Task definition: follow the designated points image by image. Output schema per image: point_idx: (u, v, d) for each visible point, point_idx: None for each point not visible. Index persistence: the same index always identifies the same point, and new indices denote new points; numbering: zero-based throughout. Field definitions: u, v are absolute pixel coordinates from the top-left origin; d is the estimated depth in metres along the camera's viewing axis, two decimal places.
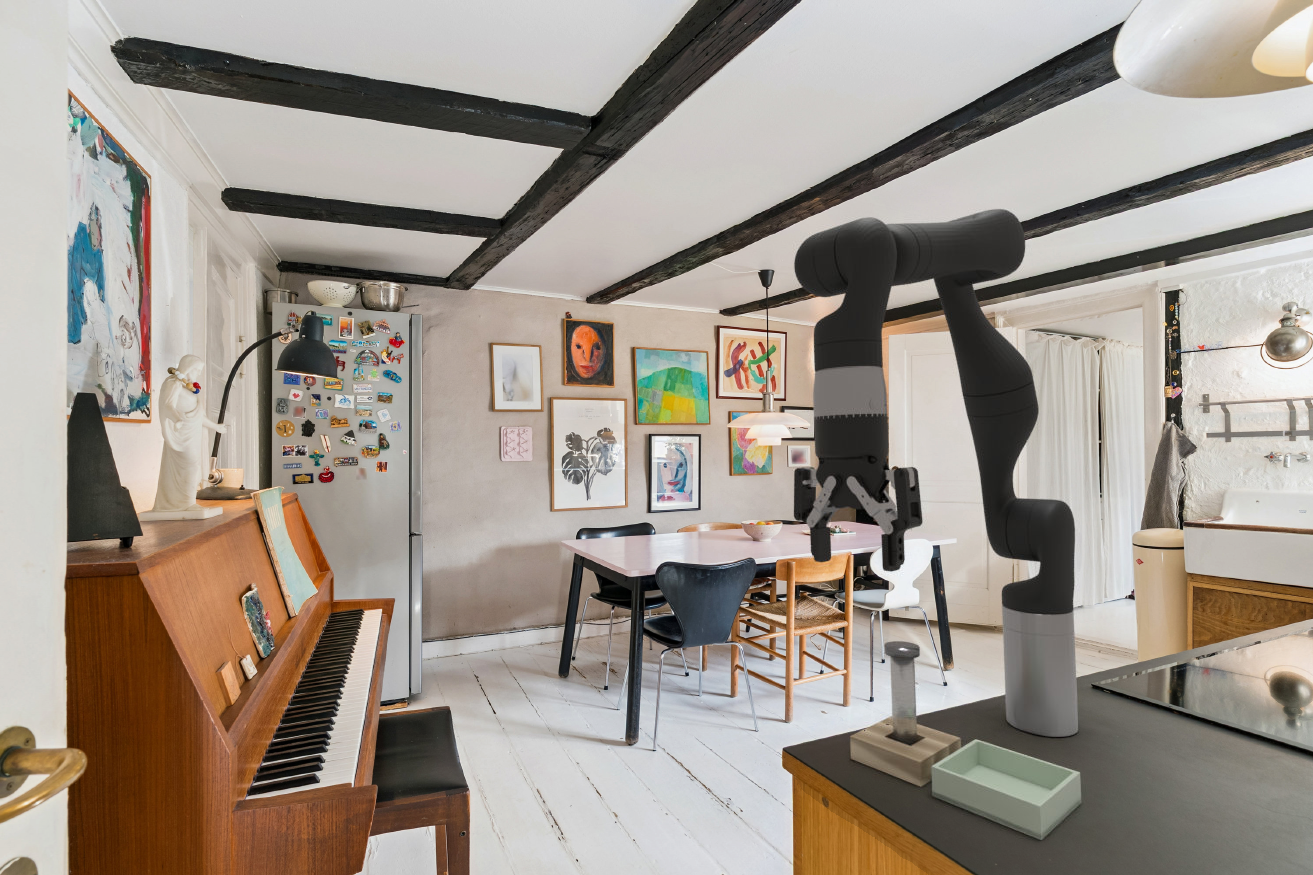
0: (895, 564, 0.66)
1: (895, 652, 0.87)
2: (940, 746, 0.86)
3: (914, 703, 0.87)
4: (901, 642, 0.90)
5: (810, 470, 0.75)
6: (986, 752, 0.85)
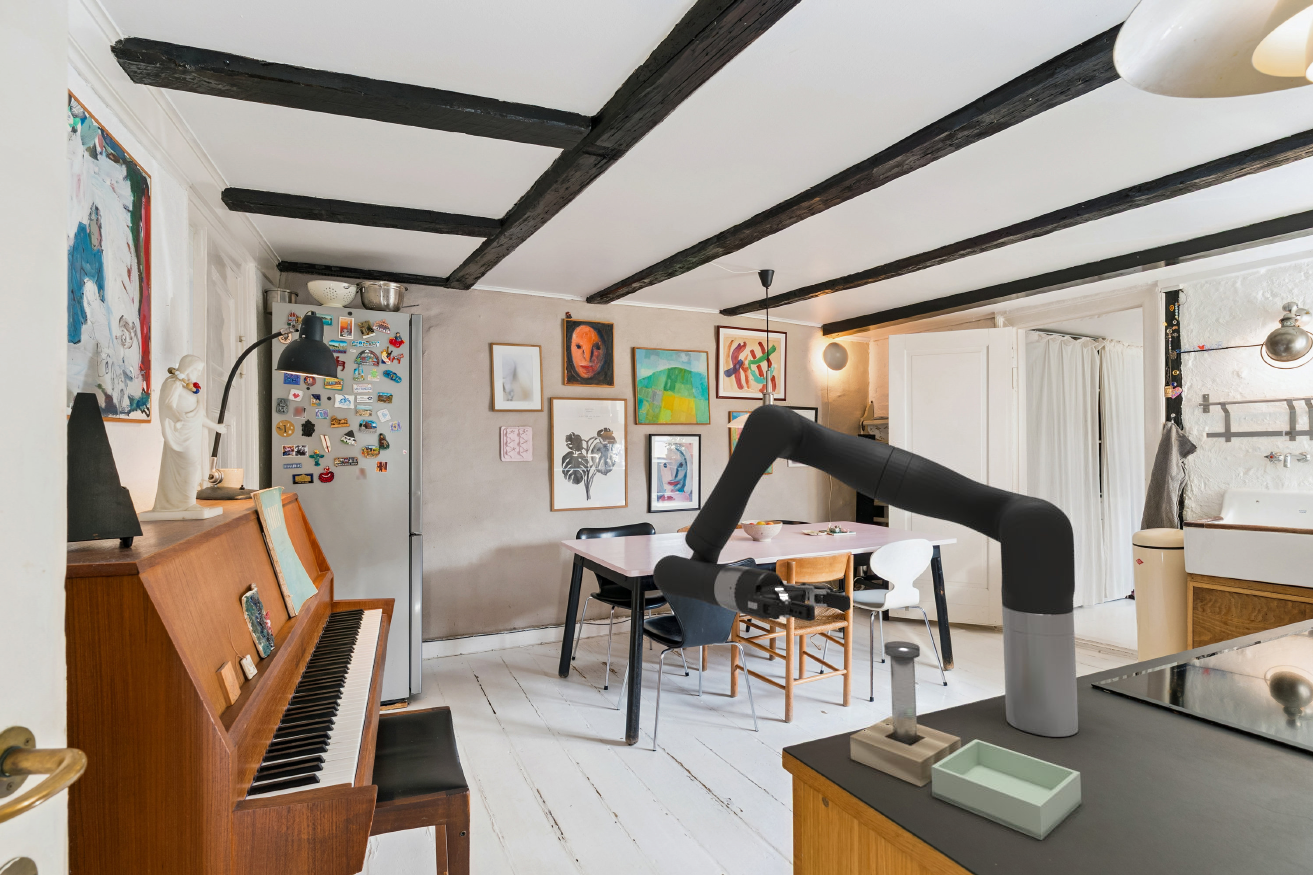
0: (805, 618, 0.94)
1: (895, 652, 0.87)
2: (940, 746, 0.86)
3: (914, 703, 0.87)
4: (901, 642, 0.90)
5: None
6: (986, 752, 0.85)
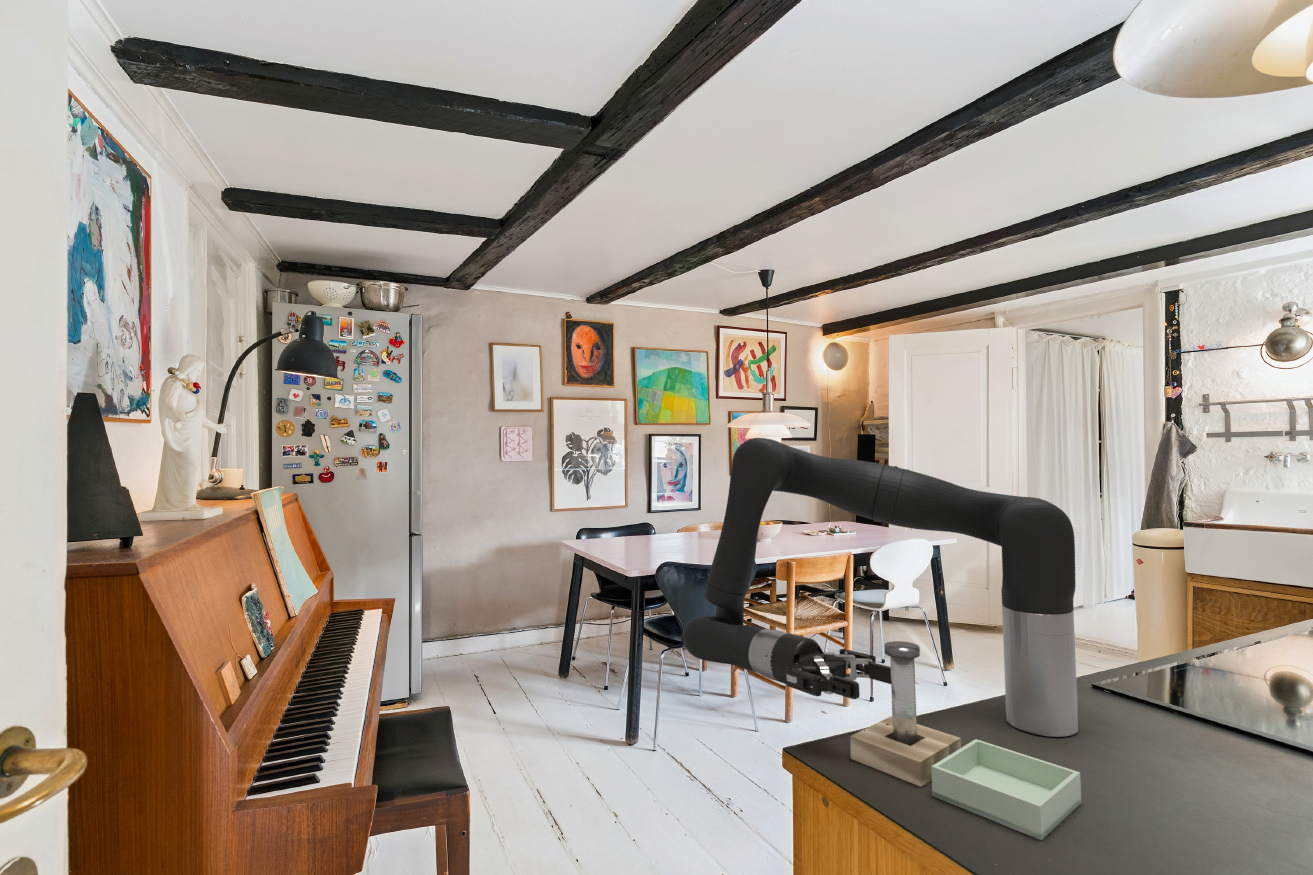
0: (849, 696, 0.89)
1: (895, 652, 0.87)
2: (940, 746, 0.86)
3: (914, 703, 0.87)
4: (901, 642, 0.90)
5: None
6: (986, 752, 0.85)
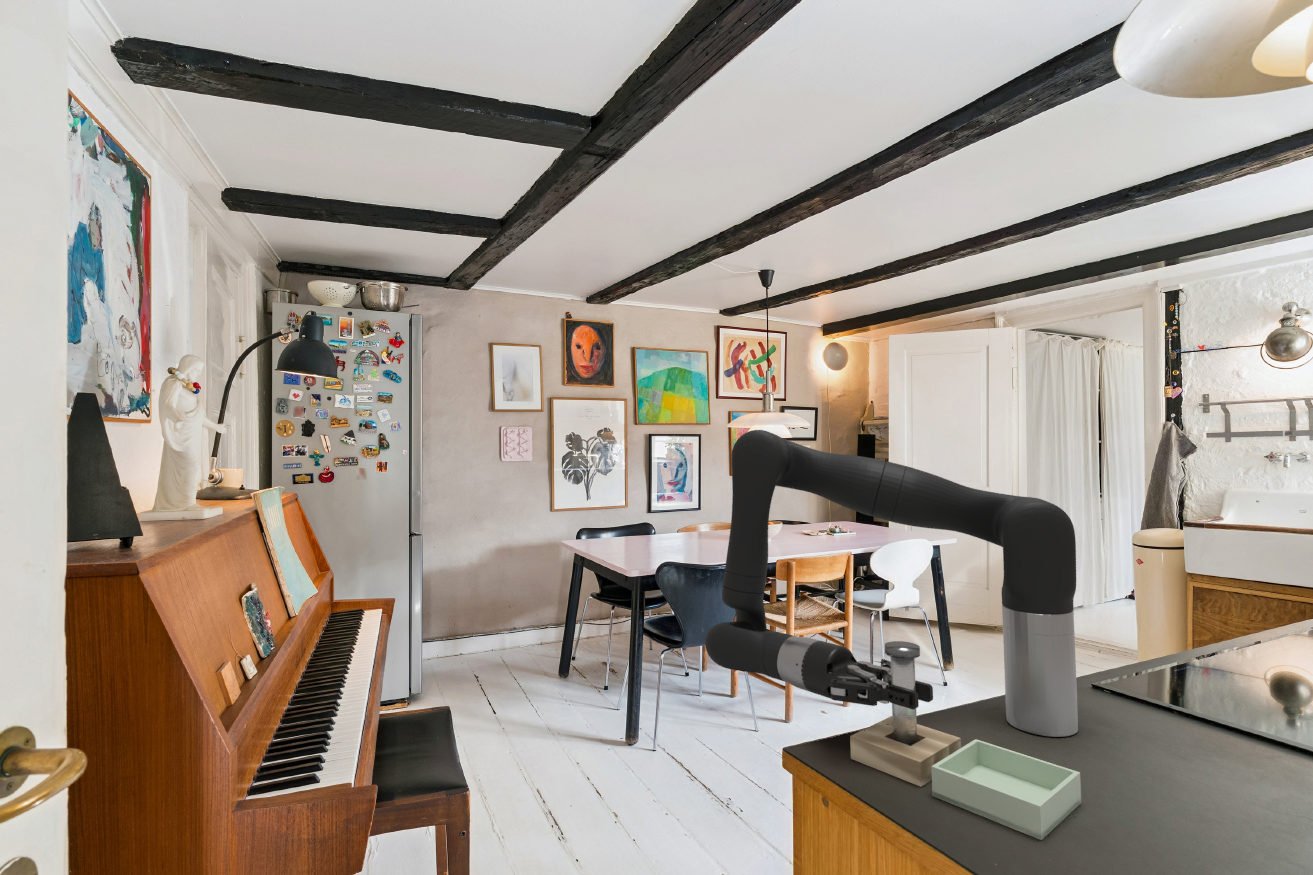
0: (908, 706, 0.85)
1: (895, 652, 0.87)
2: (940, 746, 0.86)
3: None
4: (901, 642, 0.90)
5: None
6: (986, 752, 0.85)
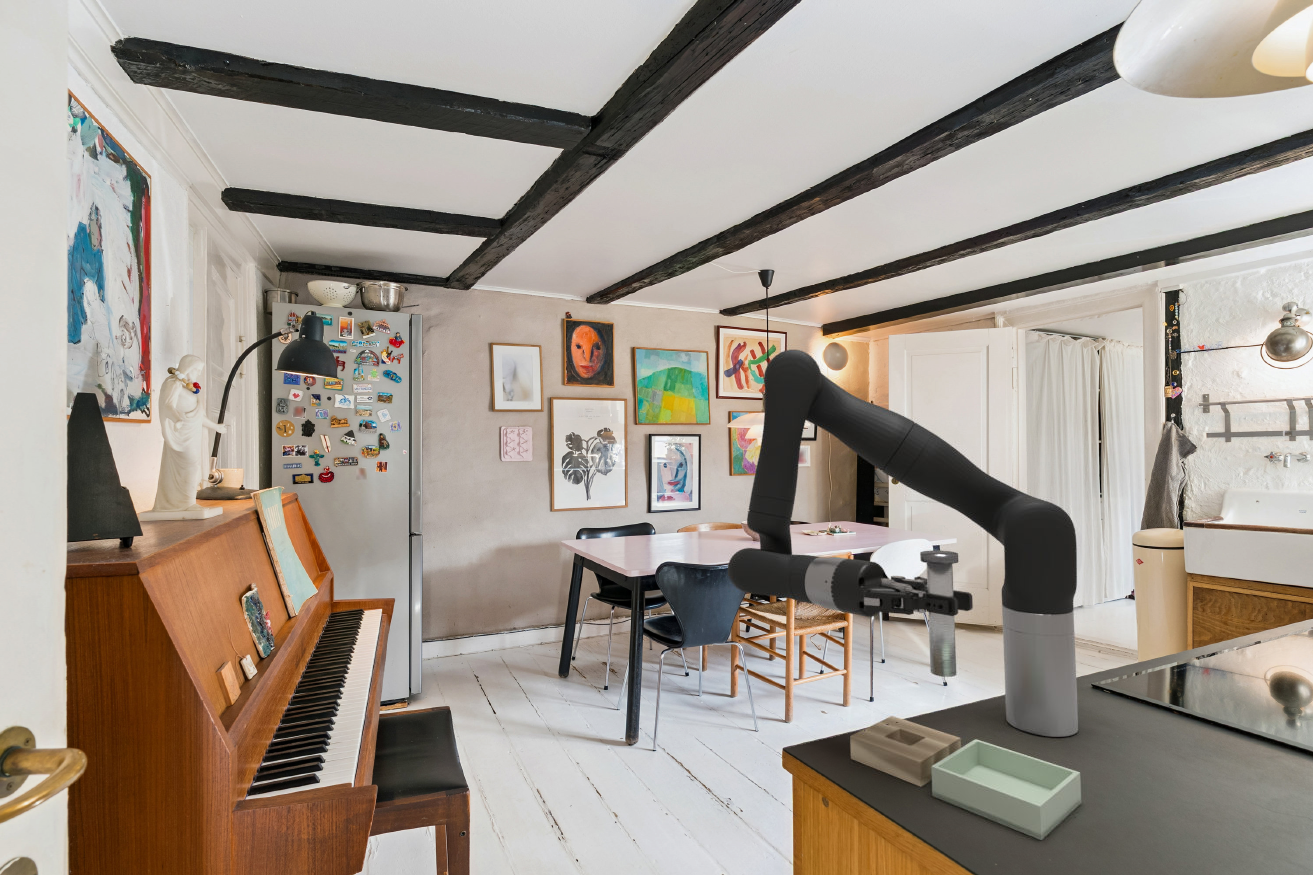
0: (947, 612, 0.81)
1: (932, 558, 0.83)
2: (940, 746, 0.86)
3: None
4: (938, 551, 0.86)
5: None
6: (986, 752, 0.85)
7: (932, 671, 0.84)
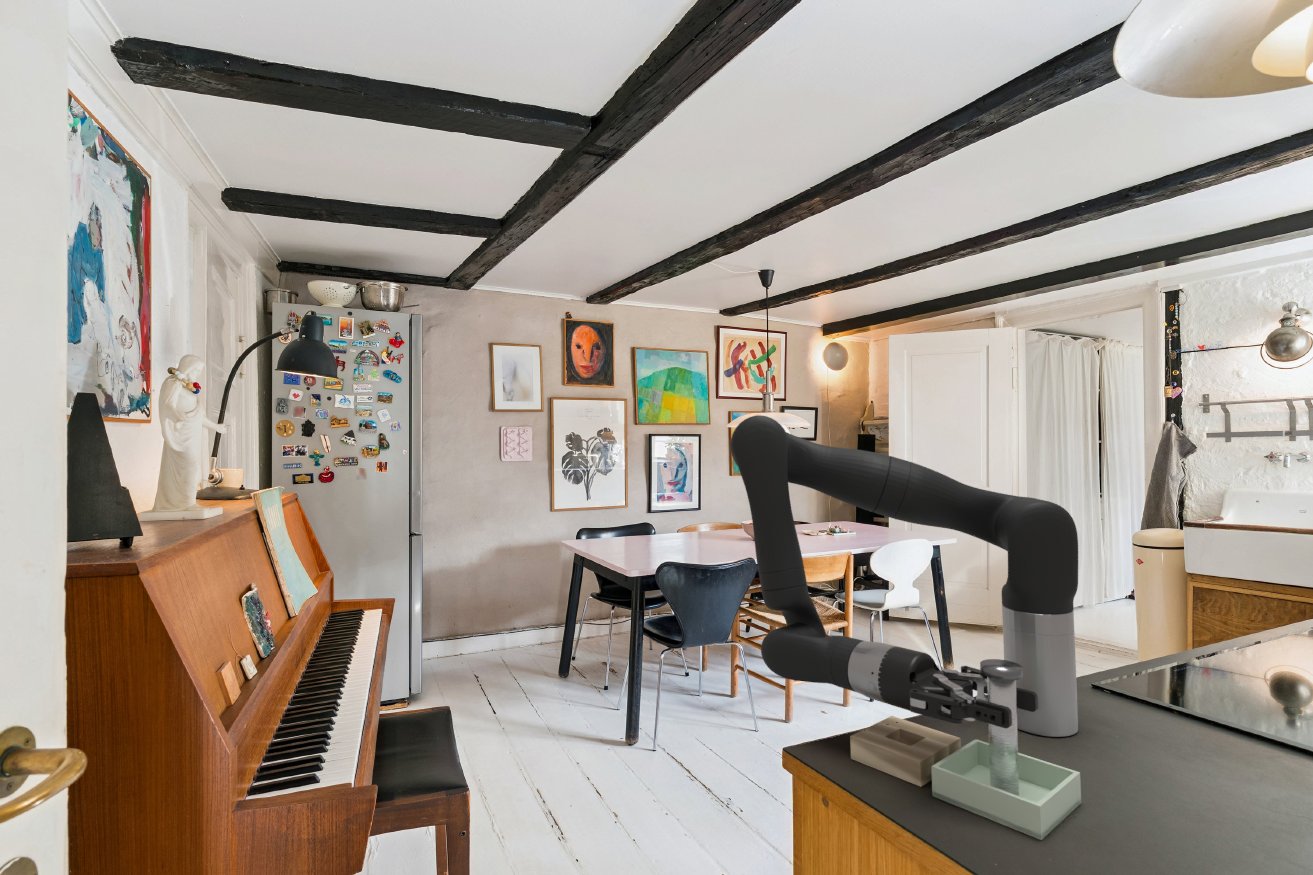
0: (1000, 724, 0.74)
1: (995, 673, 0.77)
2: (940, 746, 0.86)
3: (1016, 730, 0.77)
4: (998, 660, 0.80)
5: None
6: (986, 752, 0.85)
7: None
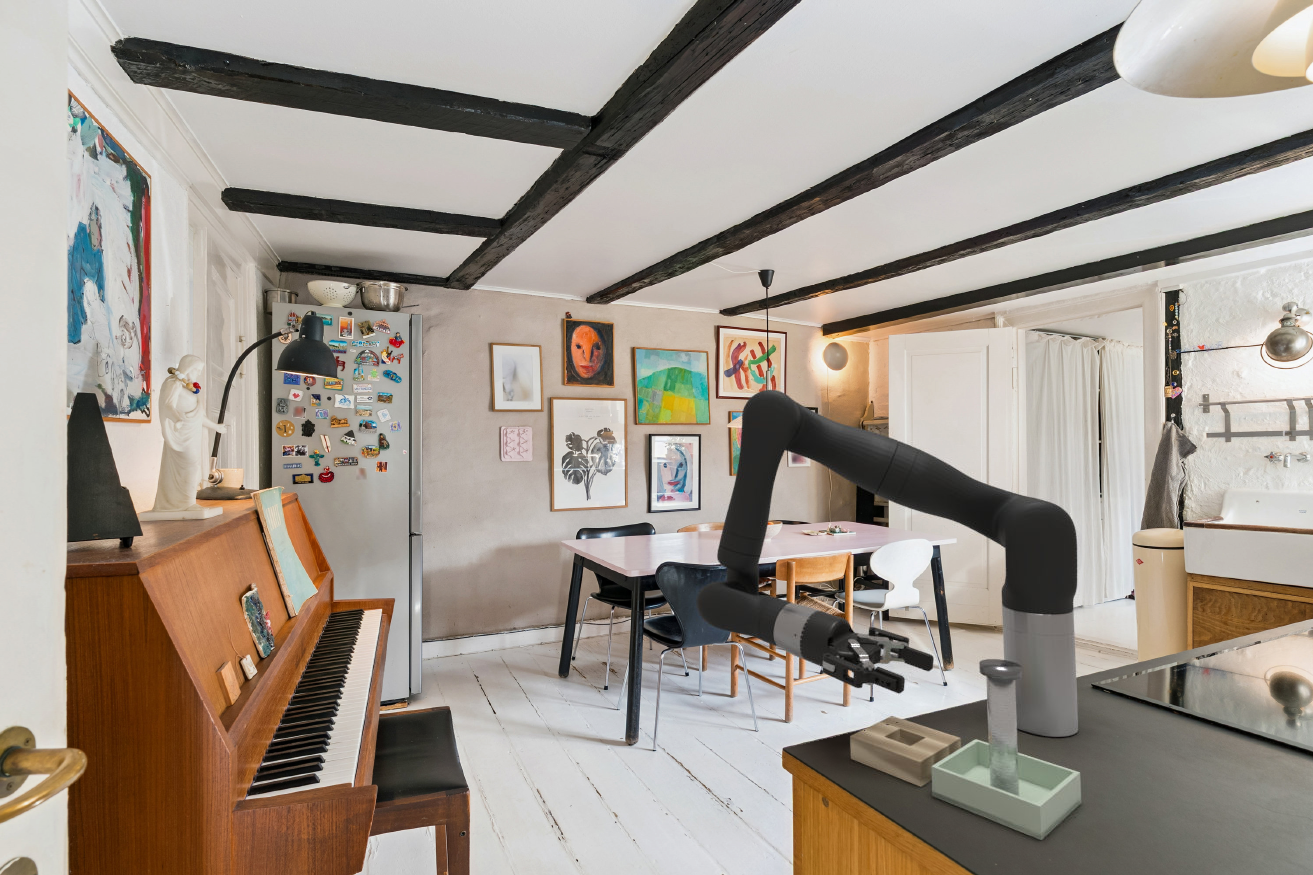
0: (894, 690, 0.85)
1: (994, 672, 0.77)
2: (940, 746, 0.86)
3: (1015, 730, 0.77)
4: (997, 660, 0.80)
5: None
6: (986, 752, 0.85)
7: None
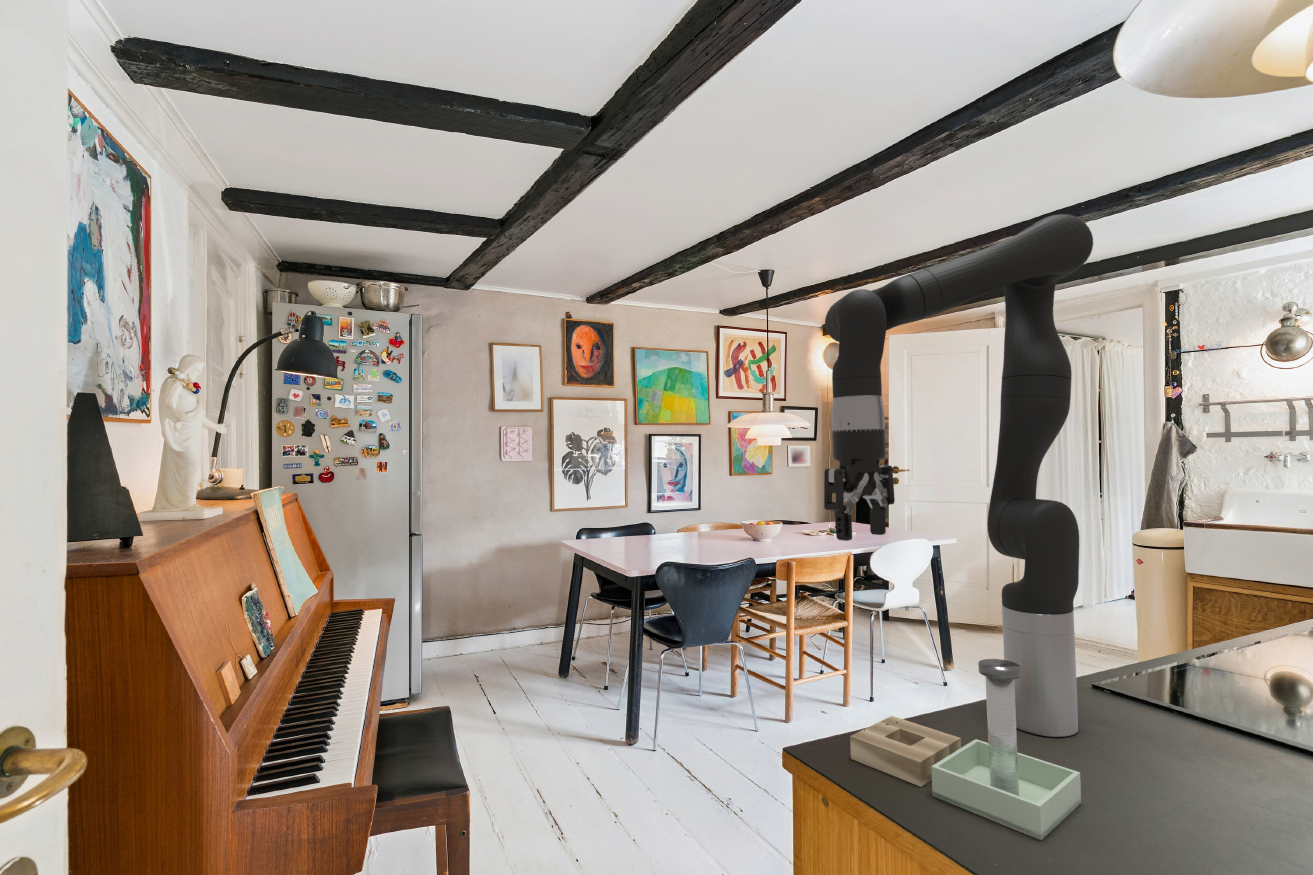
0: (836, 534, 0.96)
1: (994, 672, 0.77)
2: (940, 746, 0.86)
3: (1015, 730, 0.77)
4: (997, 660, 0.80)
5: None
6: (986, 752, 0.85)
7: None
